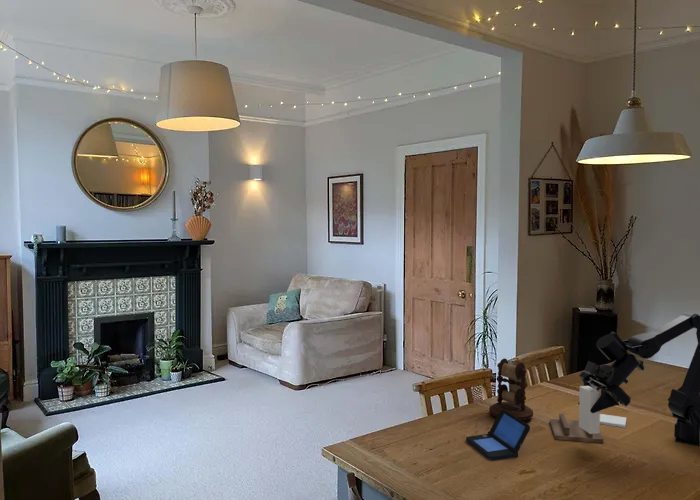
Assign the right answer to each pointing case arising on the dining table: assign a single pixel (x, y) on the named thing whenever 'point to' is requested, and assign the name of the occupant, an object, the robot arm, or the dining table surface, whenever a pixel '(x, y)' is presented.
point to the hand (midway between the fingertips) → (585, 408)
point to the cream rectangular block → (588, 410)
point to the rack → (572, 431)
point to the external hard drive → (613, 420)
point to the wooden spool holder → (511, 391)
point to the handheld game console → (501, 437)
